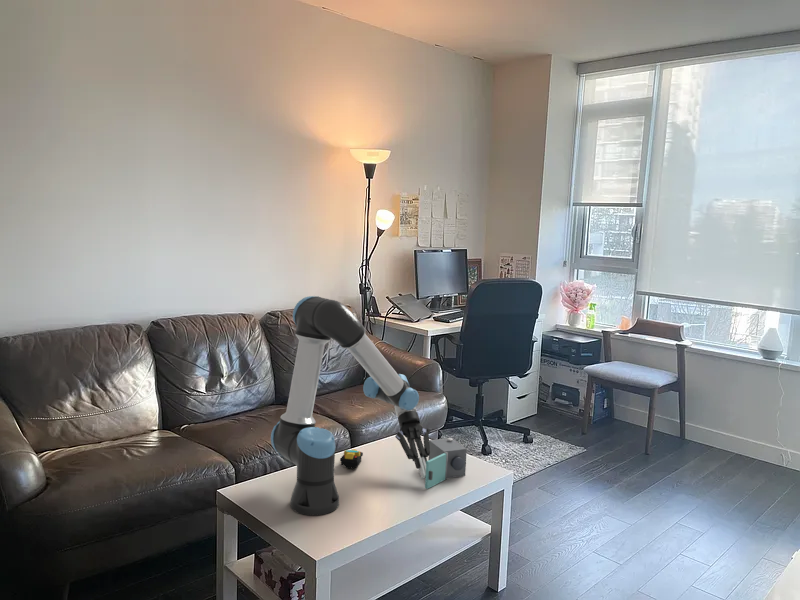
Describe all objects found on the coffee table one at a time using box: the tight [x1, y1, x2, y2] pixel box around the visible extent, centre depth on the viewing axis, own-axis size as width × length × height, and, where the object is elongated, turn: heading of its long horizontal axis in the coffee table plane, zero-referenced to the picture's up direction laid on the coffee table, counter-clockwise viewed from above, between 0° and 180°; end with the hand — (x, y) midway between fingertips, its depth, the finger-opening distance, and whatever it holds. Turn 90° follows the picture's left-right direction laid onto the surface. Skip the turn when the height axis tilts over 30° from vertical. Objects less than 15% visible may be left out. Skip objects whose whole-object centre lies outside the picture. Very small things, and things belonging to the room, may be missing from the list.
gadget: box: [339, 448, 364, 469], centre depth 225 cm, size 6×13×6 cm, turn 172°
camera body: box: [427, 437, 467, 479], centre depth 221 cm, size 9×14×11 cm, turn 23°
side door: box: [424, 452, 448, 490], centre depth 209 cm, size 12×2×10 cm, turn 142°
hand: (425, 476), depth 208 cm, fingers closed
